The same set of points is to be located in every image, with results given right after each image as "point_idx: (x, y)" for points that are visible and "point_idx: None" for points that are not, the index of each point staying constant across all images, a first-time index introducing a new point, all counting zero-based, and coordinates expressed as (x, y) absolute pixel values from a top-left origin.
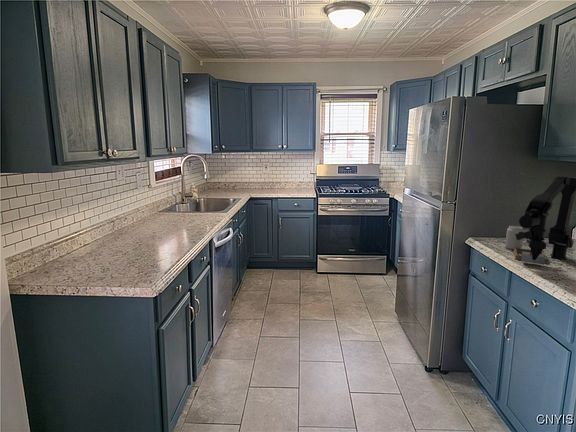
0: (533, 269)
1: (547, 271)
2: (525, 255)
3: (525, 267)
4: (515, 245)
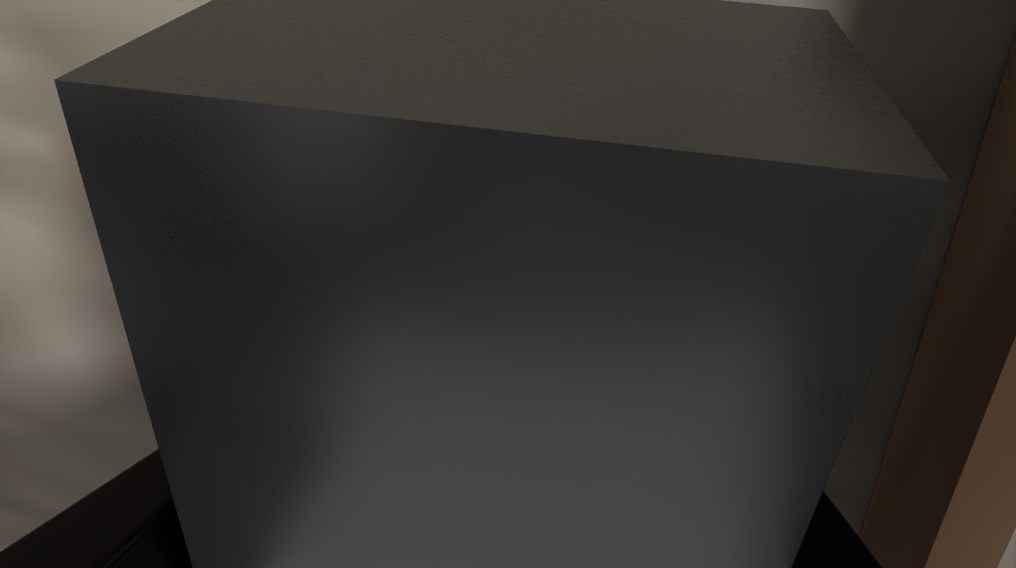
0: (47, 259)
1: None
2: (149, 249)
3: (62, 74)
4: None
